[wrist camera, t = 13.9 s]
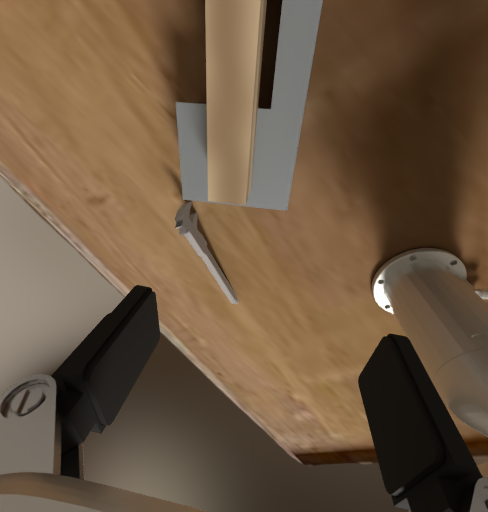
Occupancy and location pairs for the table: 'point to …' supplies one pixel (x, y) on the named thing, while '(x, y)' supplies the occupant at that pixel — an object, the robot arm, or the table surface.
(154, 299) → the robot arm
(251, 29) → the oak batten
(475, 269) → the table surface
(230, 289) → the caliper
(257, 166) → the notched block
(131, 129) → the table surface
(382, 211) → the table surface
